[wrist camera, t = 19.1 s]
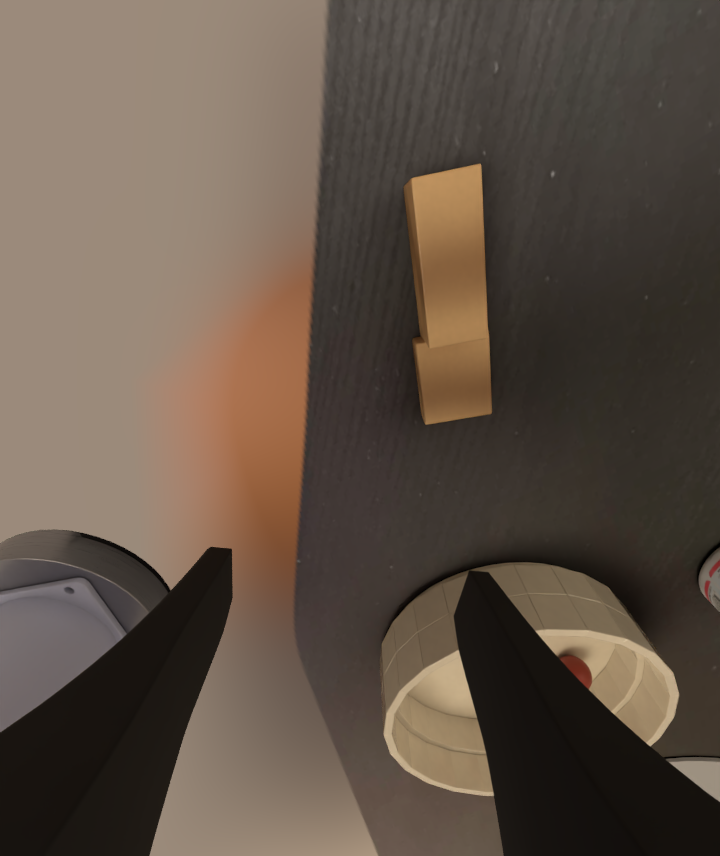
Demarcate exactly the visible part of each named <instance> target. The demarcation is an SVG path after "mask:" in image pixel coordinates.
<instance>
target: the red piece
mask: <svg viewBox="0 0 720 856" xmlns="http://www.w3.org/2000/svg"><path fill="white" fill-rule="evenodd" d="M560 660H561V661H562V662H563V663H564V664H565V665H566V667H567V668H568V669H569V670H570V671H571V672H572V673H573V674H574V675H575V676H576V677H577V678H578V679H579V680H580V681H581V682H582V683H583V684H584V685H585V686H586V687H587V688H588V689H589V688H590V687H591V684H592V674H591V671H590V669H589V667H588V666H587V664H586V663H585V662H584V661H583V660H581V659H580V658H578V657H576V656H572V655H567V656H563V657H561V658H560Z"/></svg>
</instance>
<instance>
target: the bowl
mask: <svg viewBox="0 0 720 856" xmlns="http://www.w3.org/2000/svg"><path fill="white" fill-rule="evenodd" d="M471 570H472V571H483V572H489V573H490V575H491V576H492V577H493V578H494V580H495V581H496V582H497V583H498V585H499V586H500V587H501V589H502V590H503V591H504V592H505V594H506V595H507V596H508V598H509V599H510V600H511V601H512V603H513V604H514V605H515V607H516V608H517V609H518V610H519V612H520V613H521V614H522V615H523V617H524V618H525V619H526V620H527V622H528V623H529V624H530V625H531V626H532V628H533V629H534V630H535V631H536V632H537V634H538V635H539V636H540V637H541V638H542V640H543V641H544V642H545V643H546V644H547V645H548V646H549V648H550V649H551V650H552V651H553V652H554V653H555V654H556V655H557V657H558V658H559V659H560V658H561V657H563V656H567V655H572V656H576V657H578V658H580V659H581V660H583V661H584V662H585V663H586V664H587V666H588V667H589V669H590V671H591V674H592V684H591V687H590V688H589V690H590V691H591V692H592V693H593V694H594V695H595V696H596V697H597V698H598V699H599V700H600V701H601V702H602V703H603V704H604V705H605V706H606V707H607V708H608V709H609V710H610V711H611V712H612V713H613V714H614V715H615V716H617V717H618V718H619V719H620V720H621V721H622V722H623V723H624V724H625V725H626V726H628V727H629V728H630V729H631V730H632V731H633V732H634V733H635V734H637V735H638V736H639V737H640V738H641V739H642V740H643V741H644V742H646V743H647V744H648V745H649V746H651V745H652V744H653V743H655V742H656V741H657V740H658V739H659V738H660V737H661V736H662V734H663V733H664V731H665V730H666V728H667V727H668V725H669V724H670V722H671V721H672V720H673V718H674V716H675V711H676V707H677V703H678V698H679V692H678V688H677V685H676V681H675V677H674V673H673V671H672V670H671V669H670V667H669V666H668V665H667V663H666V662H665V661H664V659H663V658H662V656H661V655H660V654H659V652H658V651H657V650H656V648H655V647H654V645H653V644H652V643H651V641H650V640H649V639H648V637H647V636H646V634H645V633H644V632H643V630H642V629H641V628H640V626H639V625H638V623H637V622H636V621H635V619H634V618H633V617H632V615H631V614H630V612H629V611H628V610H627V608H626V607H625V606H624V604H623V603H622V602H621V601H620V600H619V599H618V598H617V597H616V595H615V594H614V593H613V592H612V591H611V590H610V589H609V588H608V587H607V586H605V585H603V584H602V583H600V582H598V581H596V580H594V579H592V578H591V577H589V576H587V575H585V574H583V573H580V572H576V571H572V570H569V569H565V568H562V567H559V566H554V565H549V564H543V563H531V562H511V563H501V564H493V565H488V566H483V567H479V568H474V569H471ZM468 572H469V570H468V571H465V572H462V573H458V574H456V575H454V576H451V577H449V578H447V579H444V580H442V581H441V582H439V583H437V584H435V585H433V586H432V587H430V588H428V589H427V590H425V591H424V592H423V593H421V594H420V595H418V596H417V597H416V598H415V599H414V600H413V601H411V602H410V603H409V604H408V605H407V606H406V607H405V608H404V610H403V611H402V612H401V613H400V614H399V615H398V617H397V618H396V619H395V620H394V621H393V622H392V624H391V626H390V628H389V630H388V632H387V634H386V636H385V638H384V640H383V642H382V645H381V655H380V680H381V696H382V697H381V698H382V716H383V733H384V737H385V740H386V743H387V746H388V748H389V751H390V754H391V755H392V756H393V757H394V758H395V760H396V761H397V762H398V763H399V764H400V765H401V766H402V767H403V768H404V769H405V770H406V771H407V772H409V773H411V774H413V775H414V776H416V777H418V778H419V779H421V780H423V781H425V782H426V783H429V784H432V785H435V786H438V787H441V788H445V789H448V790H451V791H455V792H462V793H469V794H476V795H482V796H483V795H484V796H494V793H493V788H492V782H491V777H490V772H489V766H488V761H487V756H486V751H485V747H484V743H483V738H482V734H481V730H480V727H479V723H478V720H477V716H476V712H475V709H474V705H473V702H472V698H471V694H470V691H469V687H468V683H467V680H466V676H465V672H464V669H463V665H462V661H461V657H460V653H459V649H458V643H457V637H456V630H455V623H454V613H455V610H456V607H457V604H458V601H459V598H460V596H461V593H462V590H463V587H464V584H465V581H466V578H467V575H468Z"/></svg>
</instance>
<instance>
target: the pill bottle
mask: <svg viewBox="0 0 720 856" xmlns="http://www.w3.org/2000/svg"><path fill="white" fill-rule="evenodd" d="M698 580H699V587H700V590H701V592H702V593H703V595H704V596H705V597H706V598H707V599H708V600H709V601H710V602H711V604H712V605H713V606H714V607H715V608H716V609H717V610H718V611H719V612H720V547H719V548H718V549H717V550H715V551H714V552H713V553H712V554H711V555H710V556H709V557H708V558H707V560H706V561H705V563H704V564H703V566H702V568H701V570H700V573H699V579H698Z"/></svg>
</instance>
